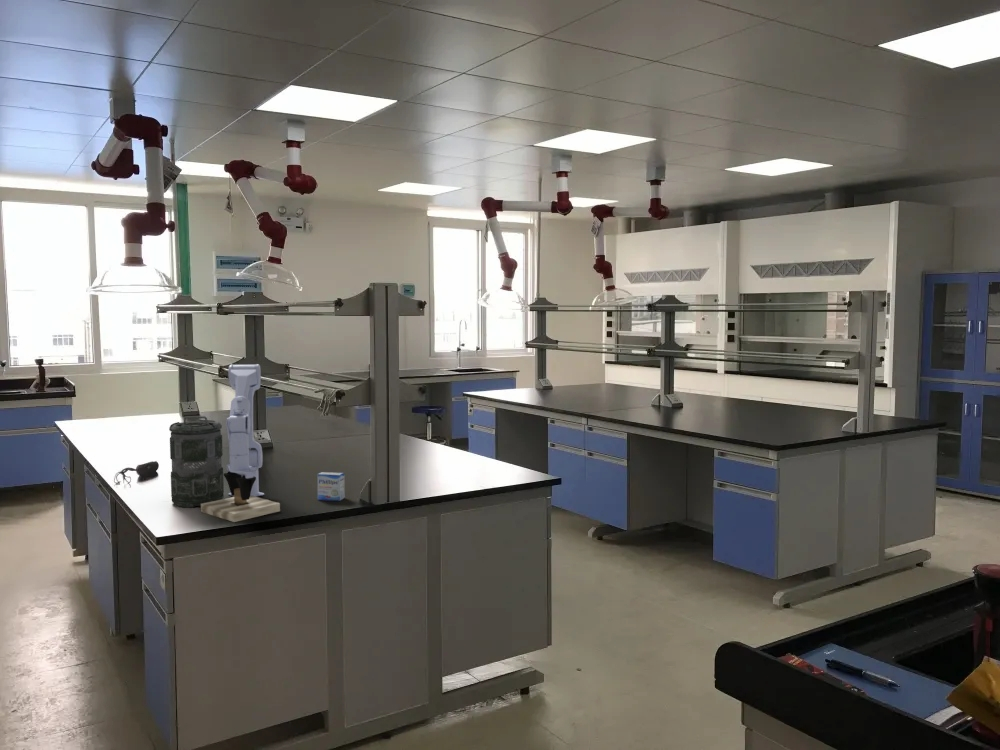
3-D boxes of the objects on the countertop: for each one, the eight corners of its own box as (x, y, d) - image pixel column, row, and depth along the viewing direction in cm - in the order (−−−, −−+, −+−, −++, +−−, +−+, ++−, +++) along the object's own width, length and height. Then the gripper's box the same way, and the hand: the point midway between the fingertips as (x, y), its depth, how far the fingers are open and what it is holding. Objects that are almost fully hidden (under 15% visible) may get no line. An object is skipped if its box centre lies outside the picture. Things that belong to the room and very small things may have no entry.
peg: (232, 511, 241) (232, 489, 240) (244, 509, 243) (243, 487, 242) (237, 513, 238) (236, 491, 237) (248, 511, 240) (248, 489, 240)
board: (201, 511, 240) (200, 503, 239) (246, 501, 252) (246, 494, 252) (234, 522, 228) (233, 513, 228) (280, 511, 241) (279, 503, 241)
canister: (230, 495, 260) (228, 412, 257) (214, 508, 244) (212, 419, 242) (182, 496, 259) (179, 412, 257) (163, 508, 244) (160, 419, 241)
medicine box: (317, 500, 255) (316, 474, 254) (322, 496, 259) (322, 471, 258) (340, 501, 254) (339, 475, 253) (345, 497, 258) (344, 472, 257)
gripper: (261, 455, 236) (262, 499, 237) (241, 449, 247) (242, 491, 248) (239, 458, 231) (240, 503, 232) (219, 451, 242) (221, 494, 243)
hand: (240, 497), depth 240 cm, fingers open, 7 cm apart
